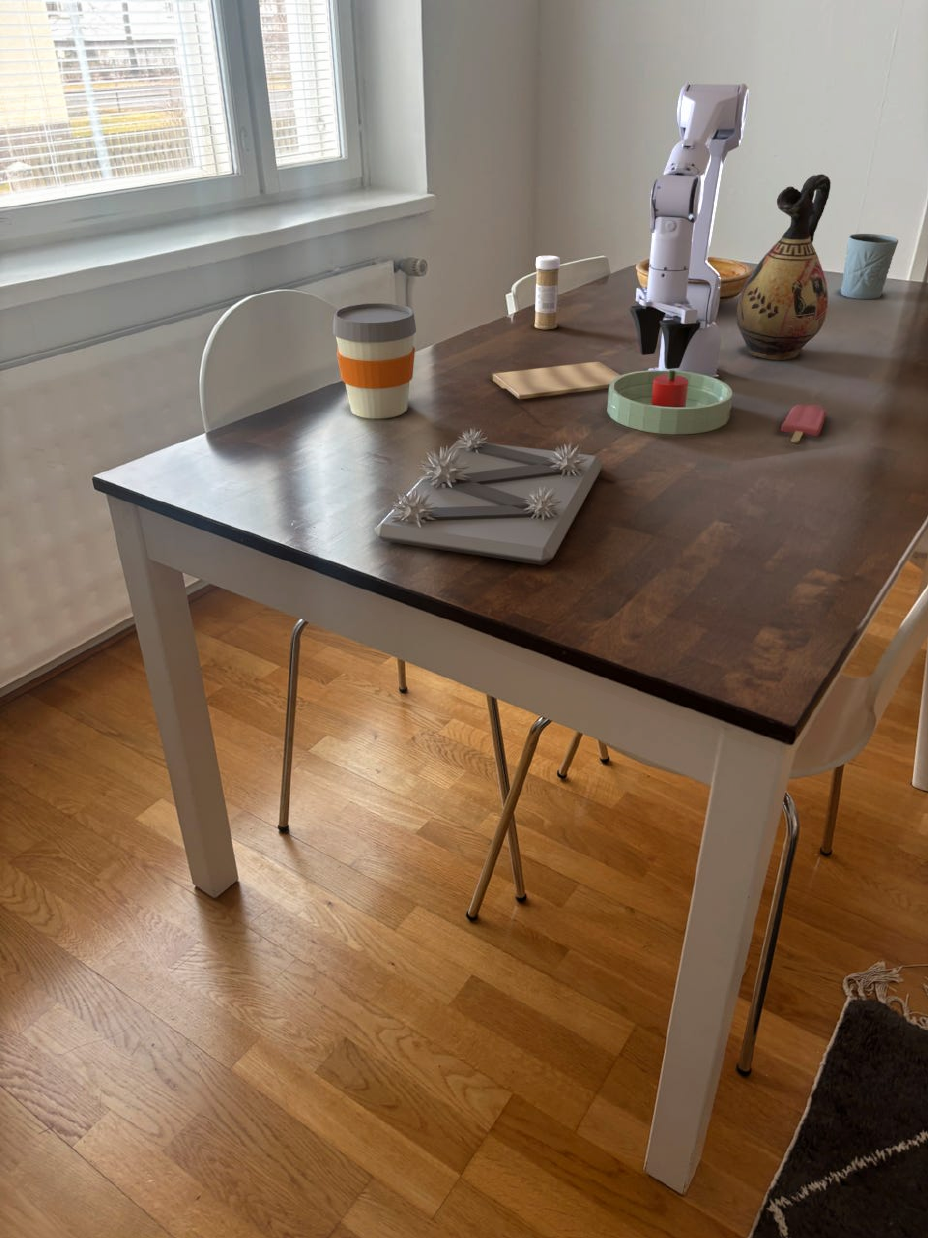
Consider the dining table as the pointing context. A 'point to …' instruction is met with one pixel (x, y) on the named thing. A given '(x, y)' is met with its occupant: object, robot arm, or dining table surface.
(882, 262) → the blue embossed cup
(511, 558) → the decorative plate
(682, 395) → the pepper
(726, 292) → the ceramic bowl
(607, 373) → the cutting board
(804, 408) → the popsicle
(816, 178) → the ceramic jug
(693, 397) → the bowl
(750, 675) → the dining table surface
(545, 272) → the sprinkles bottle
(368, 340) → the reusable coffee cup
